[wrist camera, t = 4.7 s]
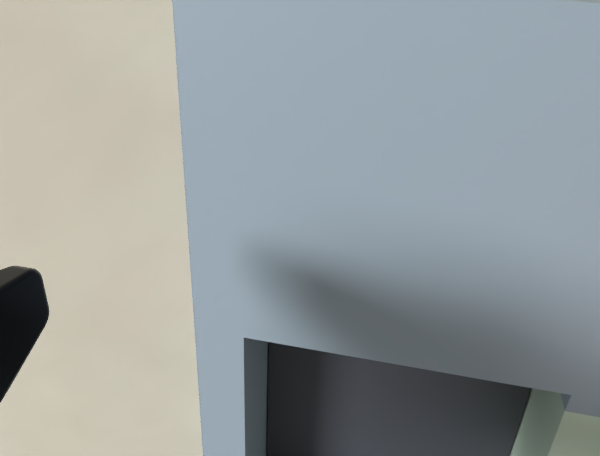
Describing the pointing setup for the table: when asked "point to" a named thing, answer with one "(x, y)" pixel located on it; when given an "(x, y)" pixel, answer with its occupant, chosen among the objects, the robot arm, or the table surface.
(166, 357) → the table surface
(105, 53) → the table surface
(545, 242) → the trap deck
